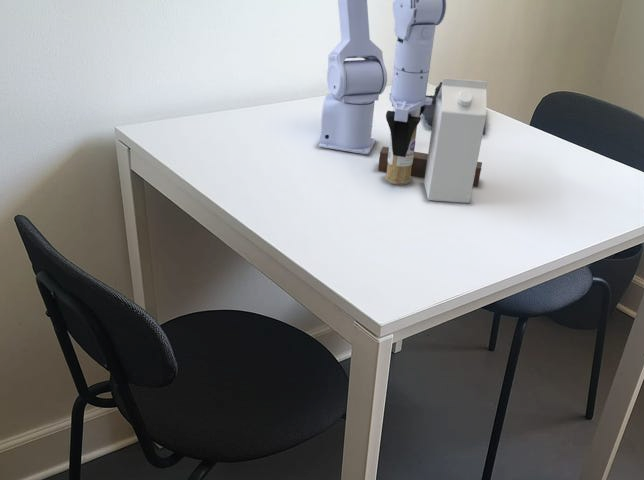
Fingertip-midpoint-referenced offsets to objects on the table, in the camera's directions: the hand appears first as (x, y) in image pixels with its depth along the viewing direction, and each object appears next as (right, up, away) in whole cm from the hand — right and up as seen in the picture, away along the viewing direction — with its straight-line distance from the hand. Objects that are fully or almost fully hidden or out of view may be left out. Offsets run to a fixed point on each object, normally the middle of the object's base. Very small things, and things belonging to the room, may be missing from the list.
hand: (401, 150), depth 123 cm
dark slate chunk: (+12, +17, +34) cm, 40 cm away
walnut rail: (+5, -3, +6) cm, 9 cm away
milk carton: (+8, -7, +1) cm, 11 cm away
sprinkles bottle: (0, -4, +3) cm, 6 cm away
